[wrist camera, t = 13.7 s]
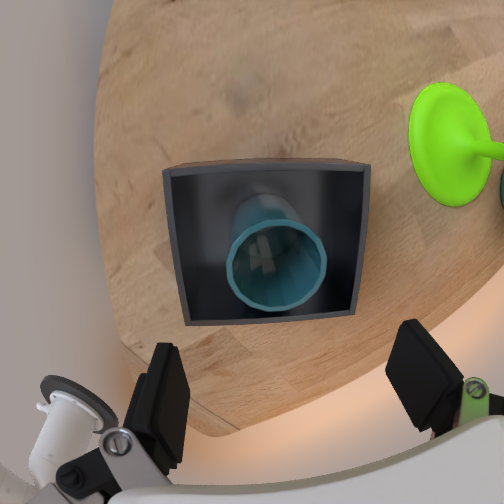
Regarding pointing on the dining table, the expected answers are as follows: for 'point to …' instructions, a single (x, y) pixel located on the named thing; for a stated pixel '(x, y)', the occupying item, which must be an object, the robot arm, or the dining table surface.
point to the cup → (502, 190)
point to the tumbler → (273, 255)
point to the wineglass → (451, 144)
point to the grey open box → (220, 216)
